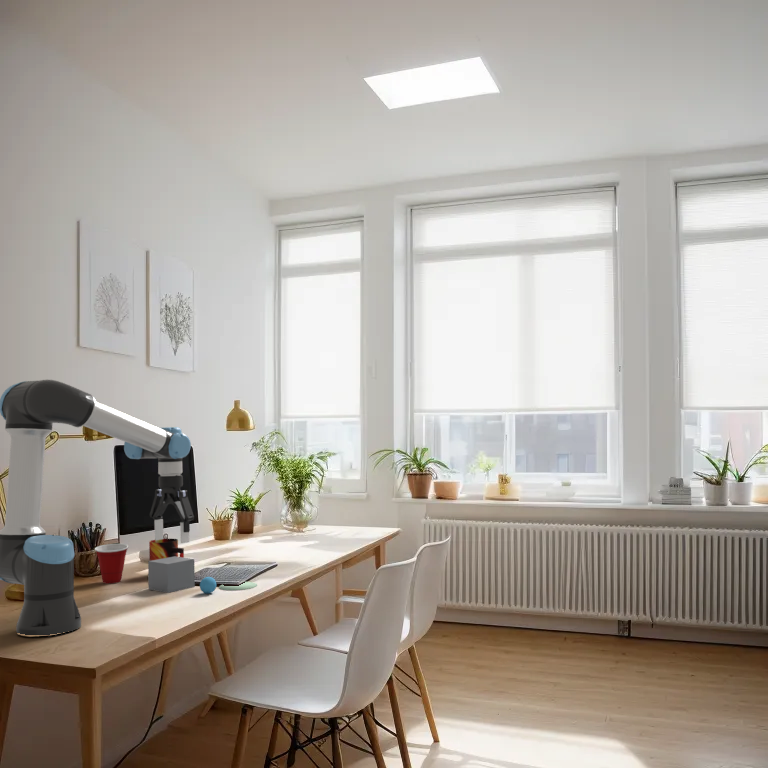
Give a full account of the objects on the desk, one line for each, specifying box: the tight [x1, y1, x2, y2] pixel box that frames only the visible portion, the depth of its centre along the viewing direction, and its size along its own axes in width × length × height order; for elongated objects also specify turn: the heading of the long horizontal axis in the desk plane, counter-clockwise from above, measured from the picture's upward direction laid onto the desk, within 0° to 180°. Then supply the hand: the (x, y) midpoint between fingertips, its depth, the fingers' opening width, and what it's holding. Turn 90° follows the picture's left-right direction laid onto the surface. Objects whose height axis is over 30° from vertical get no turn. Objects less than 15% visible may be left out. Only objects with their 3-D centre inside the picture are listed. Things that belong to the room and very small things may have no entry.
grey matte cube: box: [147, 556, 196, 593], centre depth 240 cm, size 10×10×9 cm
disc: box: [218, 581, 258, 591], centre depth 240 cm, size 12×12×1 cm
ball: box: [199, 576, 217, 595], centre depth 231 cm, size 5×5×5 cm
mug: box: [148, 538, 185, 561], centre depth 262 cm, size 10×14×12 cm
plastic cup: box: [94, 543, 129, 584], centre depth 252 cm, size 11×11×12 cm
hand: (171, 541), depth 241 cm, fingers open, 13 cm apart
